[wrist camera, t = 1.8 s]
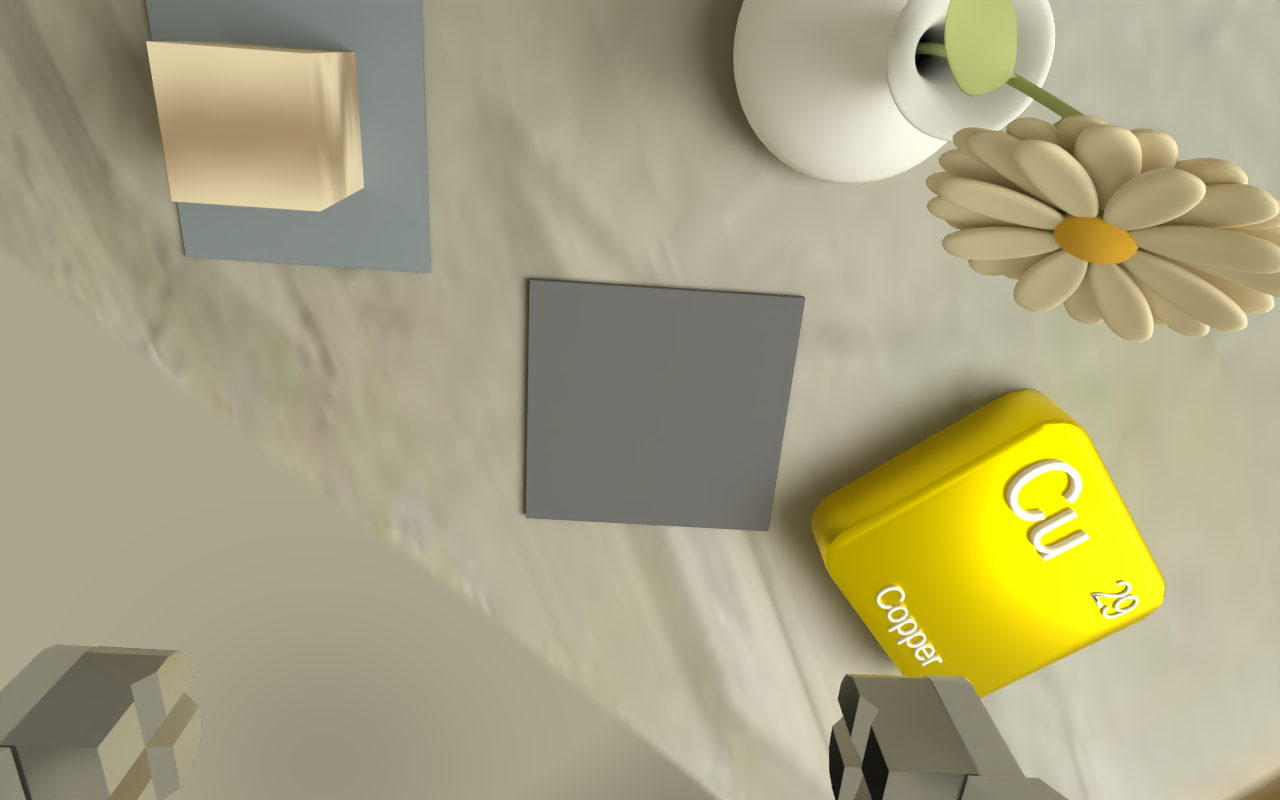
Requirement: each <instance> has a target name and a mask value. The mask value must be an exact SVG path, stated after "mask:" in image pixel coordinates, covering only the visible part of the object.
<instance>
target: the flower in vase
mask: <svg viewBox="0 0 1280 800" xmlns="http://www.w3.org/2000/svg"><path fill="white" fill-rule="evenodd" d="M1054 45H1055V25H1054V19H1053V14H1052V11H1051V7H1050V4H1049V2H1048V0H744V1H743V4H742V7H741V11H740V14H739V17H738V21H737V27H736V32H735V37H734V52H733V63H734V77H735V82H736V87H737V93H738V96H739V99H740V102H741V105H742V109H743V111H744V113H745V115H746V117H747V120H748V122H749V124H750V126H751V127H752V129H753V130H754V132H755V133H756V135H757V136H758V138H759V139H760V140H761V142H762V143H763V144H764V145H765V146H766V147H767V149H768V150H769V151H770V152H771V153H772V154H774V155H775V156H776V157H777V158H778V159H779V160H780V161H782V162H783V163H785V164H786V165H788V166H789V167H791V168H792V169H794V170H796V171H798V172H800V173H802V174H804V175H806V176H808V177H811V178H815V179H818V180H821V181H825V182H832V183H838V184H860V183H869V182H874V181H879V180H883V179H887V178H890V177H892V176H895V175H897V174H900V173H903V172H905V171H907V170H908V169H910V168H912V167H914V166H916V165H918V164H919V163H921V162H922V161H924V160H925V159H927V158H928V157H930V156H931V155H932V154H934V153H935V152H936V151H937V150H938V149H939V148H940V147H942V146H943V145H944V144H945V143H946V142H947V141H953V142H954V144H955V146H956V147H957V148H958V149H954V150H949V151H947V152H945V153H944V154H942V155H941V156H940V158H939V163H940V165H941V167H942V168H943V169H944V170H945V171H947V172H940V173H935V174H932V175H930V176H929V177H928V178H927V179H926V185H927V187H928V188H929V189H930V191H932V192H933V193H935V194H937V195H939V196H937V197H934V198H932V199H931V200H930V201H929V202H928V204H927V208H928V209H929V211H930V212H931V213H932V214H933V215H935V216H936V217H938V218H941V219H943V220H945V221H946V222H947V223H948V224H949V225H950V226H952V227H954V228H957V229H960V231H957V232H953V233H951V234H949V235H947V236H946V237H944V238H943V240H942V245H943V247H944V249H945V250H946V251H947V252H948V253H949V254H951V255H953V256H956V257H959V258H964V259H969V260H968V262H969V265H970V267H971V268H972V269H973V270H975V271H976V272H978V273H981V274H984V275H992V276H997V275H1004V276H1006V277H1008V278H1012V279H1018V282H1017V284H1016V286H1015V288H1014V295H1013V296H1014V300H1015V301H1016V303H1017V304H1019V305H1020V306H1022V307H1023V308H1025V309H1028V310H1031V311H1036V312H1041V311H1046V310H1050V309H1052V308H1054V307H1056V306H1058V305H1059V304H1061V303H1064V306H1065V308H1066V311H1067V312H1068V314H1069V315H1070V316H1071V317H1072V318H1073V319H1075V320H1077V321H1079V322H1081V323H1084V324H1089V325H1094V324H1098V323H1101V322H1102V321H1105V323H1106V324H1107V325H1108V327H1109V328H1110V329H1111V330H1112V331H1113V332H1114V333H1115V334H1117V335H1118V336H1120V337H1122V338H1124V339H1127V340H1130V341H1145V340H1147V339H1149V338H1150V337H1151V336H1152V333H1153V327H1154V323H1155V324H1159V325H1166V326H1168V327H1169V328H1171V329H1172V330H1174V331H1176V332H1178V333H1180V334H1182V335H1185V336H1189V337H1201V336H1204V335H1206V334H1207V333H1208V332H1209V327H1212V328H1215V329H1219V330H1223V331H1237V330H1241V329H1243V328H1245V327H1246V326H1247V317H1246V315H1245V313H1244V312H1243V311H1245V312H1249V313H1264V312H1267V311H1270V310H1271V309H1272V308H1273V307H1274V299H1273V296H1275V297H1280V227H1277V226H1280V199H1278V198H1276V197H1273V196H1271V195H1270V194H1269V193H1267V192H1266V191H1264V190H1262V189H1260V188H1257V187H1254V186H1251V185H1246V184H1247V183H1248V178H1247V175H1246V174H1245V172H1244V171H1243V170H1241V169H1240V168H1239V167H1237V166H1236V165H1234V164H1232V163H1230V162H1228V161H1224V160H1220V159H1213V158H1198V159H1191V160H1183V161H1179V162H1178V148H1177V144H1176V143H1175V141H1174V139H1172V138H1171V137H1170V136H1169V135H1167V134H1164V133H1162V132H1159V131H1155V130H1150V129H1134V130H1131V131H1129V130H1127V129H1125V128H1123V127H1119V126H1114V125H1108V124H1107V123H1106V122H1104V121H1103V120H1101V119H1098V118H1096V117H1092V116H1085V115H1084V114H1082V113H1081V112H1079V111H1077V110H1076V109H1074V108H1073V107H1071V106H1069V105H1068V104H1066V103H1065V102H1063V101H1061V100H1060V99H1058V98H1056V97H1055V96H1053V95H1052V94H1050V93H1048V92H1047V91H1045V90H1043V89H1042V88H1041V87H1042V85H1043V83H1044V81H1045V78H1046V76H1047V74H1048V71H1049V68H1050V65H1051V62H1052V58H1053V53H1054ZM1033 99H1034V100H1036V101H1037V102H1039V103H1040V104H1042V105H1044V106H1045V107H1047V108H1049V109H1050V110H1052V111H1053V112H1055V113H1056V114H1058V115H1060V116H1061V117H1062V119H1061V120H1060V121H1059V122H1057V123H1055V124H1054V125H1052V124H1050V123H1048V122H1045V121H1043V120H1039V119H1035V118H1020V119H1016V120H1014V119H1015V118H1017V117H1018V116H1019V115H1020V114H1021V113H1022V112H1023V111H1024V110H1025V109H1026V108H1027V107H1028V106H1029V104H1030V103H1031V102H1032V100H1033ZM1006 125H1007V126H1006ZM1005 126H1006V128H1007V133H1005V132H1002V131H998V130H1000V129H1002V128H1003V127H1005Z"/></svg>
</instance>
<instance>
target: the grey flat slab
mask: <svg viewBox="0 0 1280 800" xmlns="http://www.w3.org/2000/svg"><path fill="white" fill-rule="evenodd" d="M146 7H147V13H148V19H149V26H150V32H151V38H152V41H203V42H232V43H245V44H258V45H271V46H284V47H297V48H311V49H324V50H337V51H350V52H355V56H356V71H357V86H358V102H359V117H360V132H361V148H362V163H363V178H364V188H363V189H361V190H359V191H357V192H355V193H353V194H352V195H350V196H348V197H346V198H344V199H342V200H341V201H339V202H337V203H335V204H333V205H331V206H330V207H328V208H326V209H324V210H322V211H305V210H291V209H276V208H262V207H247V206H232V205H218V204H203V203H189V202H177V203H178V209H179V216H180V222H181V229H182V235H183V241H184V248H185V254H186V257H193V258H209V259H224V260H239V261H254V262H269V263H284V264H300V265H315V266H330V267H345V268H360V269H375V270H391V271H406V272H421V273H430V272H431V262H430V233H429V203H428V174H427V145H426V115H425V86H424V56H423V27H422V0H146Z"/></svg>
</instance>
